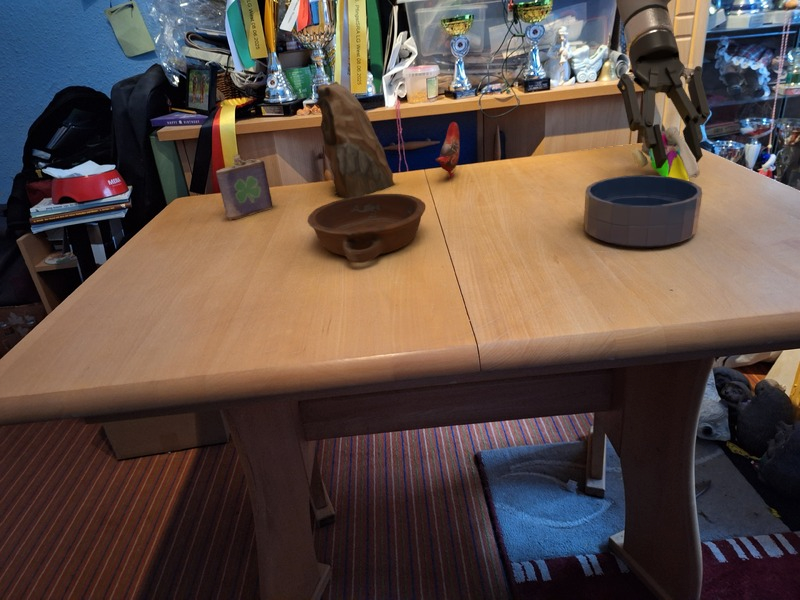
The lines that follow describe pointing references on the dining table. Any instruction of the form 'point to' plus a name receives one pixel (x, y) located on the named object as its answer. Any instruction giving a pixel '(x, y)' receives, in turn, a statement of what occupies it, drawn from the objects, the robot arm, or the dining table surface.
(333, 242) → the dish
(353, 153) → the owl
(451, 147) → the decorative bird figurine
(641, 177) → the bowl
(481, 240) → the dining table surface
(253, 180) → the flask
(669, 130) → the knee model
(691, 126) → the robot arm
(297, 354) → the dining table surface
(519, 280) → the dining table surface
